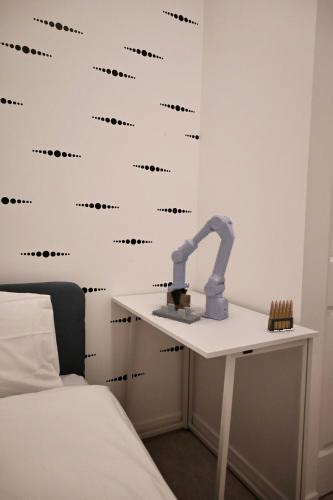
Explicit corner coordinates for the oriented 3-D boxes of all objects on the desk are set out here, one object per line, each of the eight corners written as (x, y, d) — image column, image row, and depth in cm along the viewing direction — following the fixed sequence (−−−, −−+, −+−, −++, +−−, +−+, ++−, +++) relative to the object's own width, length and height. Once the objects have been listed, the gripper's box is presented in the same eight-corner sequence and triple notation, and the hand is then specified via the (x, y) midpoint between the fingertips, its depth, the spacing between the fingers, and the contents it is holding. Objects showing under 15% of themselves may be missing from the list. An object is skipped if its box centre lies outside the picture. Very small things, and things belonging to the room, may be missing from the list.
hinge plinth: (200, 319, 133) (201, 309, 133) (189, 324, 127) (190, 313, 127) (163, 311, 146) (163, 301, 145) (152, 314, 139) (152, 304, 139)
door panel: (190, 310, 146) (190, 295, 146) (186, 311, 144) (186, 296, 143) (169, 305, 154) (170, 291, 153) (165, 306, 151) (165, 292, 151)
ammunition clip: (289, 328, 125) (291, 298, 124) (293, 330, 123) (294, 300, 123) (267, 331, 122) (268, 300, 121) (270, 332, 120) (272, 301, 119)
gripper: (181, 273, 156) (180, 300, 157) (162, 276, 145) (161, 305, 146) (193, 275, 152) (192, 303, 153) (175, 278, 141) (174, 308, 141)
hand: (178, 304), depth 149 cm, fingers closed on door panel, 2 cm apart
